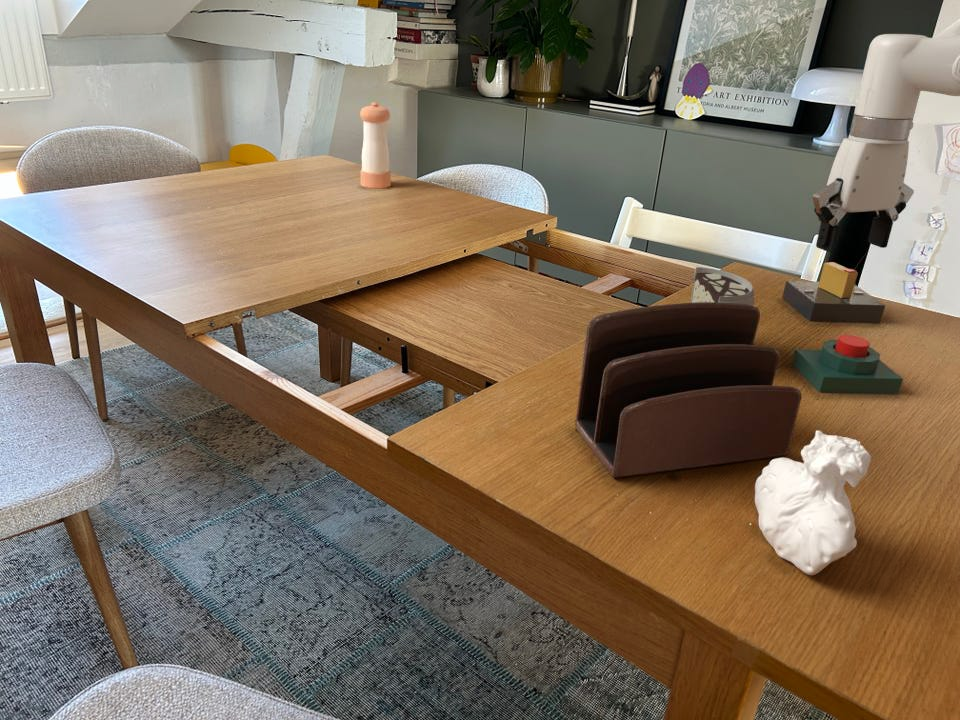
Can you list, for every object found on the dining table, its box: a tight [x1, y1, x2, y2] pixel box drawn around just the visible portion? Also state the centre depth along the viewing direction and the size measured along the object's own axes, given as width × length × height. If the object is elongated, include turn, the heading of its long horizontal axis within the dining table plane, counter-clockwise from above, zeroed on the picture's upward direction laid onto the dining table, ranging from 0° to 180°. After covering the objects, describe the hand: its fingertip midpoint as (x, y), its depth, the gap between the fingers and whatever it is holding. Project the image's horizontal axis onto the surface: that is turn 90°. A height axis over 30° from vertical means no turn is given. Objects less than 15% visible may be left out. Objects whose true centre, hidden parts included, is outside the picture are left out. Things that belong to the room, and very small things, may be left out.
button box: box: [791, 339, 904, 395], centre depth 92 cm, size 10×8×4 cm
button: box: [835, 334, 871, 358], centre depth 91 cm, size 4×4×2 cm
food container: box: [690, 266, 755, 307], centre depth 96 cm, size 12×6×10 cm, turn 179°
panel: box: [781, 280, 886, 324], centre depth 115 cm, size 11×10×3 cm
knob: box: [818, 261, 859, 298], centre depth 113 cm, size 5×2×4 cm, turn 17°
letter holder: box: [574, 302, 802, 479], centre depth 74 cm, size 10×20×14 cm, turn 106°
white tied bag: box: [754, 429, 872, 576], centre depth 61 cm, size 12×8×11 cm
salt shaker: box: [359, 101, 392, 189], centre depth 175 cm, size 7×7×19 cm
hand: (851, 247), depth 111 cm, fingers open, 9 cm apart
